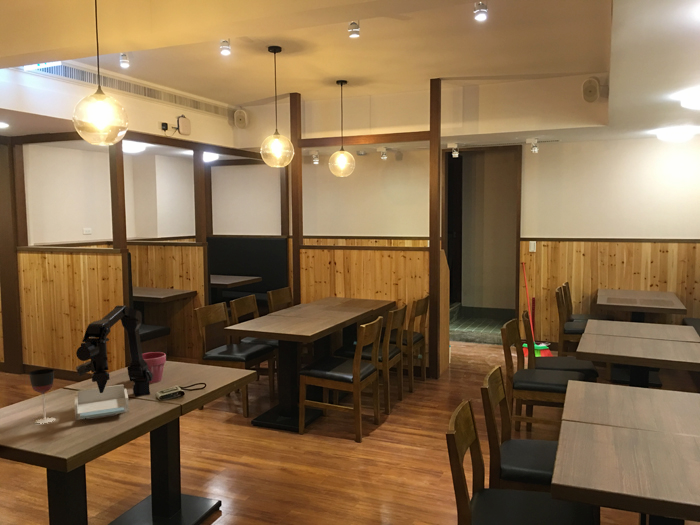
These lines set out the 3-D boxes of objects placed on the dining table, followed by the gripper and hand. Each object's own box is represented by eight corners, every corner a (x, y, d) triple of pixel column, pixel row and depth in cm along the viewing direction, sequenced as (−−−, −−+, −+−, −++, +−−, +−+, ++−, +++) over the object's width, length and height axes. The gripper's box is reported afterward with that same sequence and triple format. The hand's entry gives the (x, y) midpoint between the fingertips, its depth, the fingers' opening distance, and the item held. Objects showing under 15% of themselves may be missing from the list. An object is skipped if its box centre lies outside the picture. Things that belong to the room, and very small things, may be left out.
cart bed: (126, 401, 245) (125, 384, 244) (129, 411, 232) (128, 392, 232) (76, 409, 236) (74, 390, 236) (75, 420, 224) (74, 400, 223)
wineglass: (40, 417, 228) (36, 369, 226) (61, 417, 227) (58, 368, 226) (28, 424, 220) (24, 374, 218) (50, 424, 220) (46, 374, 218)
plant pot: (134, 386, 267) (132, 360, 266) (138, 378, 281) (136, 353, 280) (165, 383, 270) (164, 357, 269) (168, 375, 284) (166, 350, 283)
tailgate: (123, 406, 231) (124, 409, 224) (123, 410, 231) (124, 413, 224) (80, 413, 224) (80, 416, 218) (80, 417, 224) (80, 420, 217)
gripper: (77, 351, 228) (79, 389, 229) (76, 362, 211) (78, 402, 212) (106, 348, 232) (108, 385, 234) (108, 358, 216) (110, 398, 217)
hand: (101, 392), depth 224 cm, fingers closed
